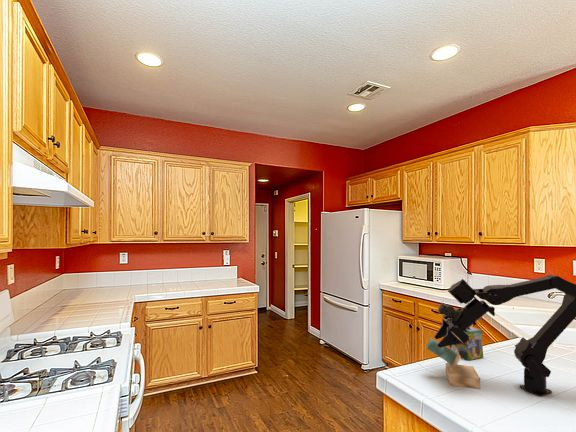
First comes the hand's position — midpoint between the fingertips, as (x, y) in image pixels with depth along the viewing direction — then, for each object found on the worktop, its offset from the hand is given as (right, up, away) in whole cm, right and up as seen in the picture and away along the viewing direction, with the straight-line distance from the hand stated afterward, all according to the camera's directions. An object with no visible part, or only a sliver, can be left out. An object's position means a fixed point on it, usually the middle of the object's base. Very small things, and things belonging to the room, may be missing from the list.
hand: (436, 342), depth 117 cm
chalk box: (+21, -14, +20) cm, 32 cm away
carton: (+7, -12, -3) cm, 15 cm away
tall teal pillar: (+5, -6, -2) cm, 8 cm away
